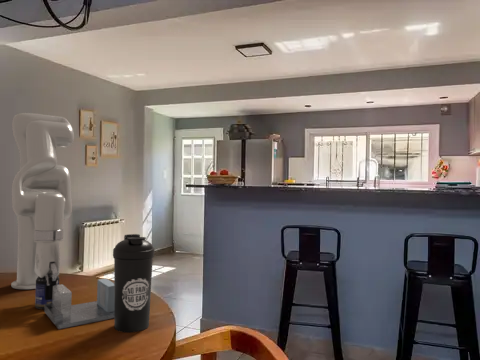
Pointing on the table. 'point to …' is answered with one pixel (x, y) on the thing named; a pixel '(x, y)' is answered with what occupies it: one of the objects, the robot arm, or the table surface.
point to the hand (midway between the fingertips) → (47, 294)
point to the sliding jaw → (105, 294)
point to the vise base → (73, 310)
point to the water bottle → (132, 283)
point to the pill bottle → (41, 293)
